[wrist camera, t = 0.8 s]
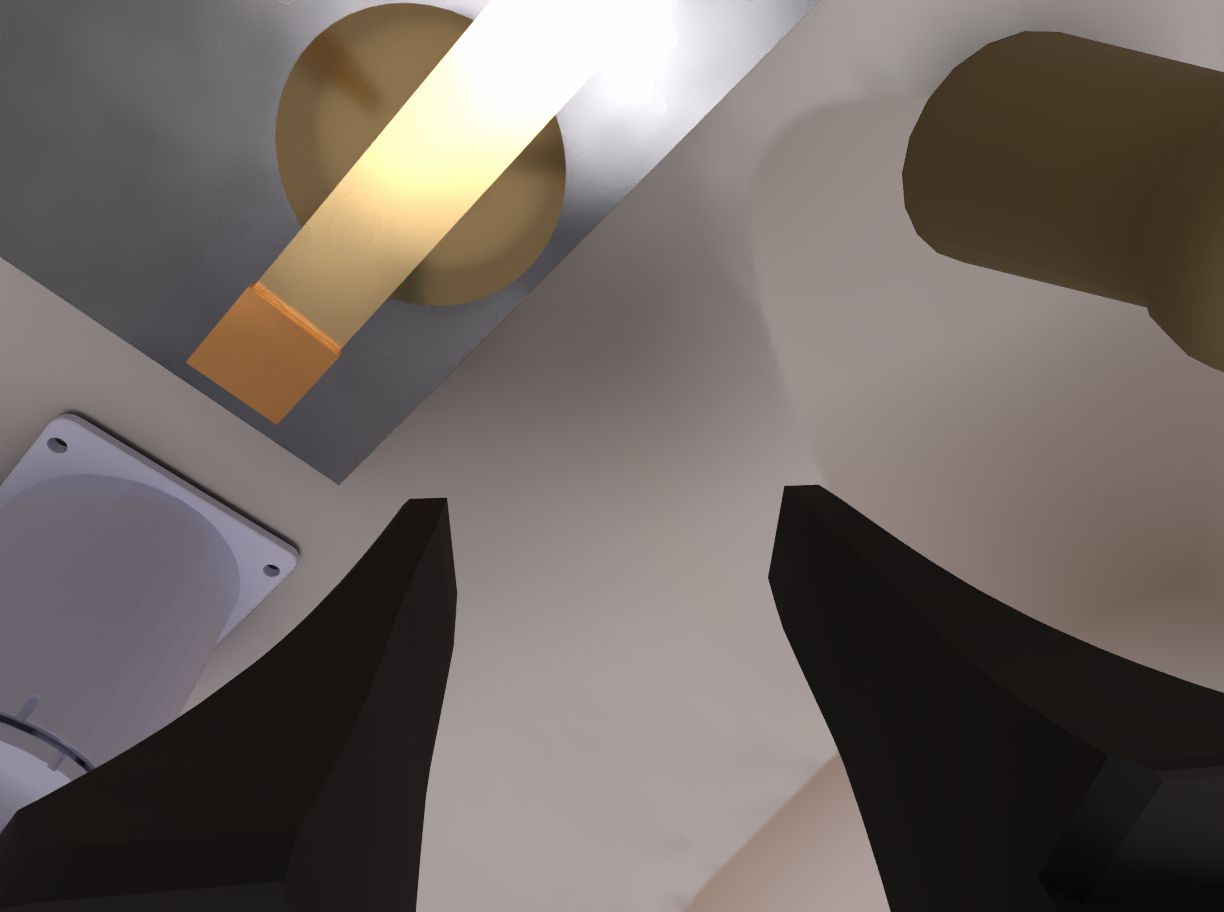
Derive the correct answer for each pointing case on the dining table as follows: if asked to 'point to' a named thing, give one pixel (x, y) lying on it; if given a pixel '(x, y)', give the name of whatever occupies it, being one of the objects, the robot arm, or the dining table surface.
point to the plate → (252, 188)
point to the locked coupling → (409, 175)
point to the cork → (1081, 176)
